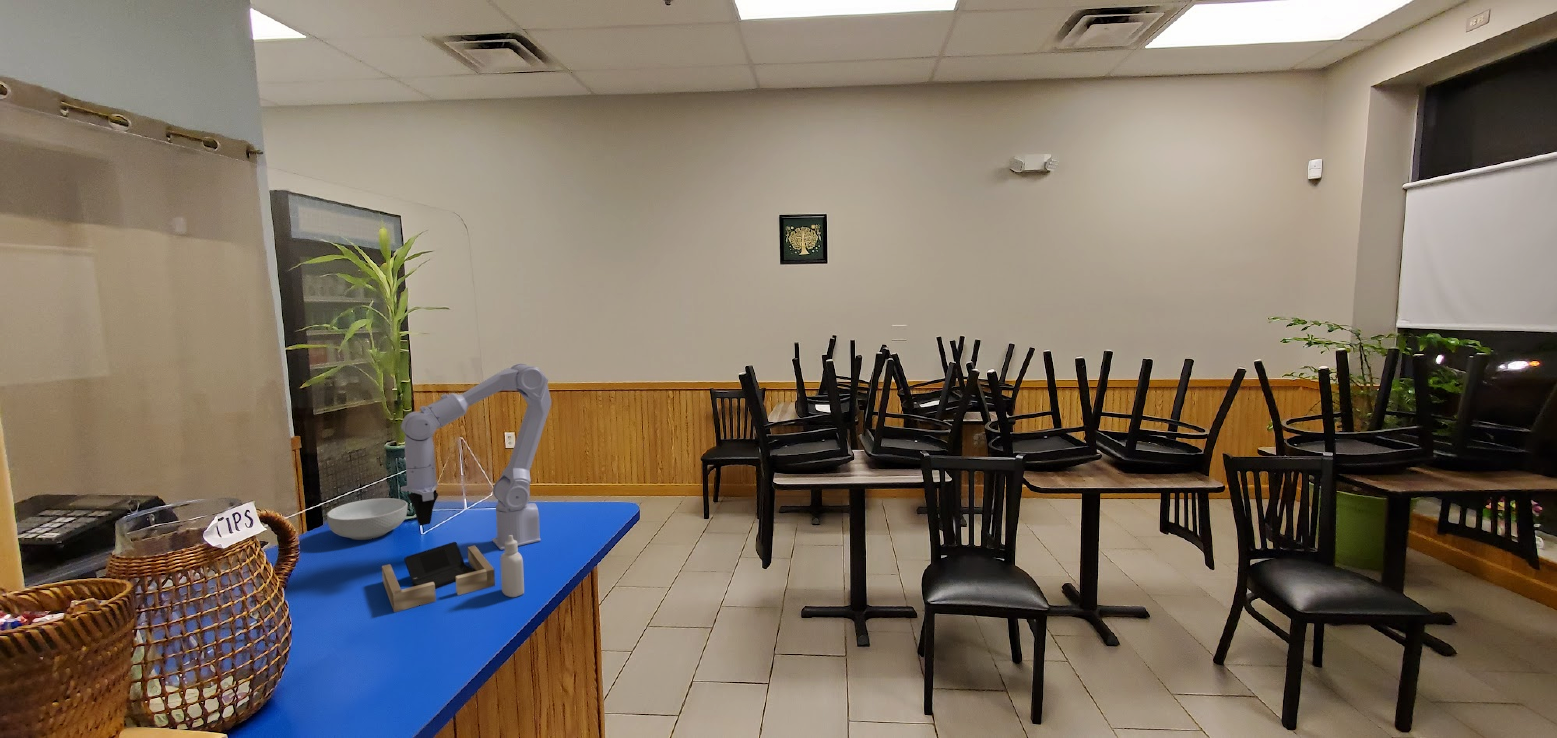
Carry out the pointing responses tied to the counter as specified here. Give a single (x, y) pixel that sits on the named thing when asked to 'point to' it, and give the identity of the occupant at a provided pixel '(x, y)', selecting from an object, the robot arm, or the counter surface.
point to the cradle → (427, 591)
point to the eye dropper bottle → (512, 569)
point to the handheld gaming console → (437, 565)
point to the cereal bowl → (367, 518)
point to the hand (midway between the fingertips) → (424, 523)
